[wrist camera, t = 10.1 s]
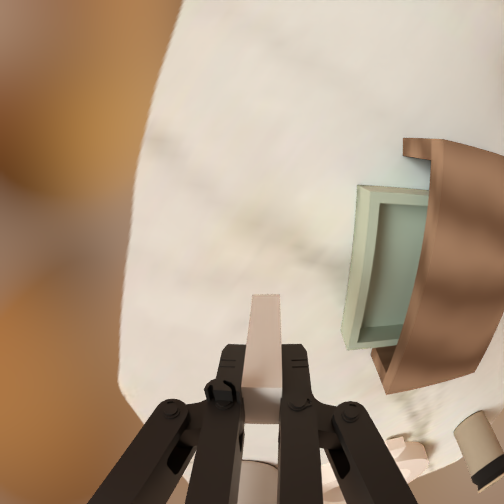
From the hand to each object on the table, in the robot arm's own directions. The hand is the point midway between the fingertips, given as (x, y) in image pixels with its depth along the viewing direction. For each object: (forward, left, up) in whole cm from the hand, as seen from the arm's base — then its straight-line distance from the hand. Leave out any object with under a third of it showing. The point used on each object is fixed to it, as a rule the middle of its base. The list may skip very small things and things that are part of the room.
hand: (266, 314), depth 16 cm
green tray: (+1, +13, -8) cm, 16 cm away
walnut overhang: (+1, +17, -8) cm, 19 cm away
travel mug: (+39, +43, -8) cm, 59 cm away
